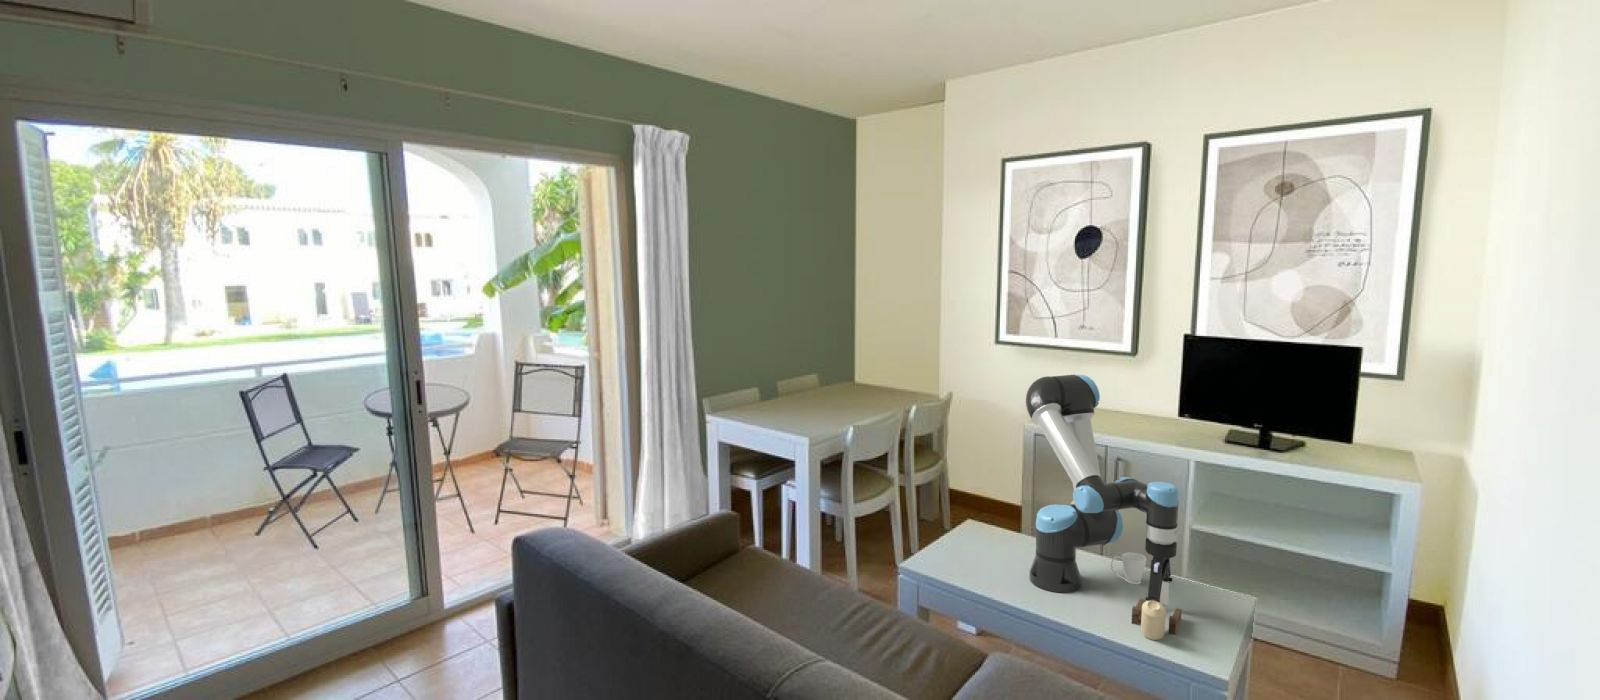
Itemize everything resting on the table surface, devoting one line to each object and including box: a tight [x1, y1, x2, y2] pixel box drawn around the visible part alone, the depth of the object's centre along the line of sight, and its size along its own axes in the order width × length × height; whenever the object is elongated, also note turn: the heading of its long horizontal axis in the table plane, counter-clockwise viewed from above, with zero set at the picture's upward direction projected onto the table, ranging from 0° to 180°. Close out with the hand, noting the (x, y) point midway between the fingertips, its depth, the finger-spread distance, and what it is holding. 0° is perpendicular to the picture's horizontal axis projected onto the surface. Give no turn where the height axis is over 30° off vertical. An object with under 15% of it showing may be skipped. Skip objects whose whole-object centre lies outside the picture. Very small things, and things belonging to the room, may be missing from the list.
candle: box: [1140, 600, 1167, 641], centre depth 175 cm, size 6×6×10 cm
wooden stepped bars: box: [1131, 598, 1183, 636], centre depth 184 cm, size 10×10×4 cm
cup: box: [1110, 551, 1147, 585], centre depth 208 cm, size 7×10×8 cm
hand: (1158, 613), depth 185 cm, fingers open, 13 cm apart
